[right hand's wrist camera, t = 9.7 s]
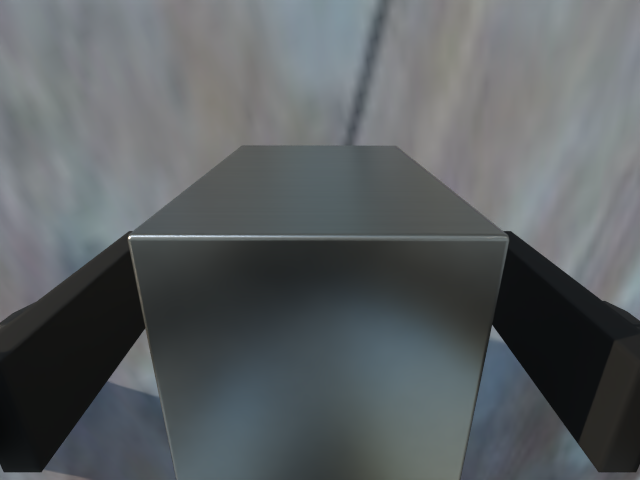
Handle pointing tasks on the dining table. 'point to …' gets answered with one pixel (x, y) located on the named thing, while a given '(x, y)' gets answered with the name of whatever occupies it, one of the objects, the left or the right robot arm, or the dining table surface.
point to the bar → (318, 316)
